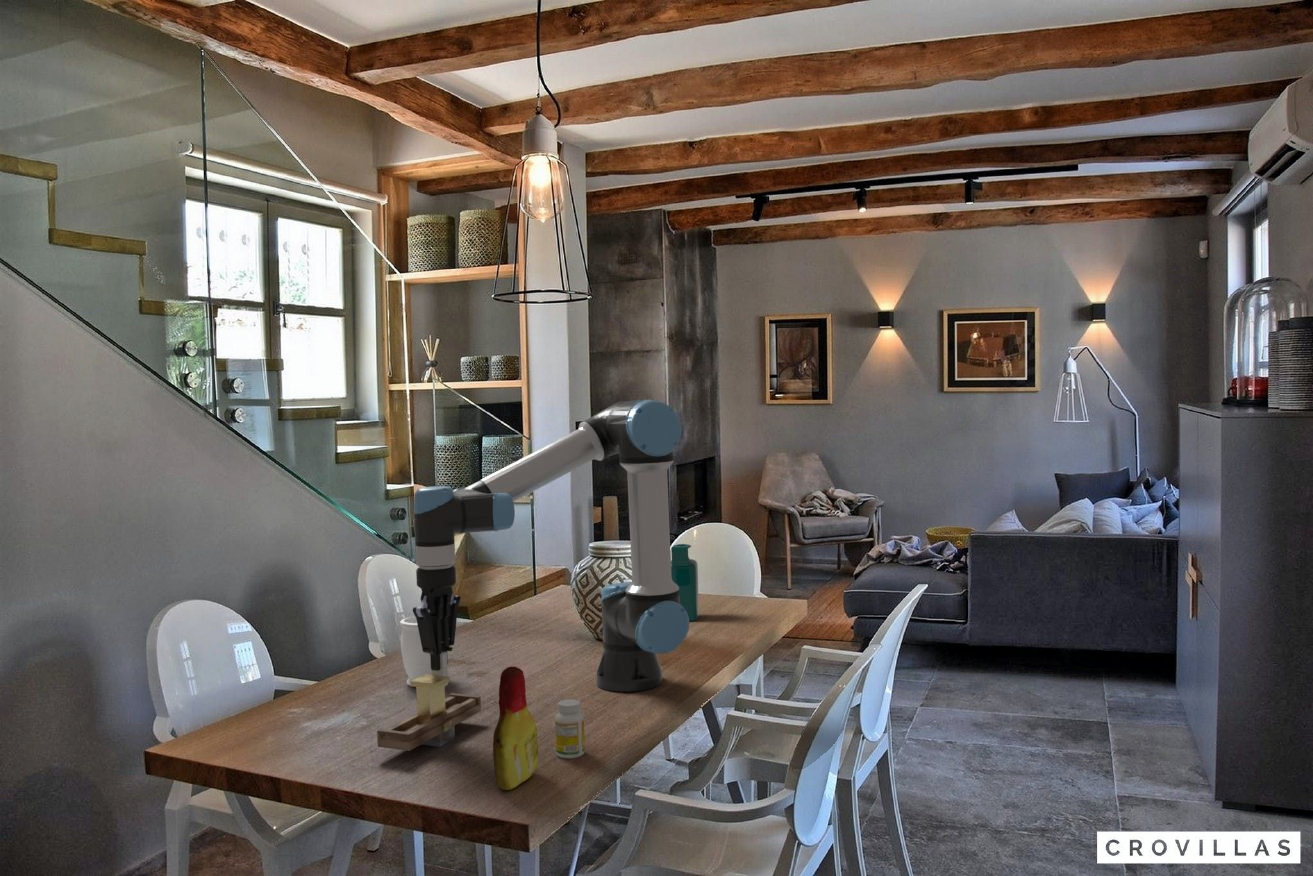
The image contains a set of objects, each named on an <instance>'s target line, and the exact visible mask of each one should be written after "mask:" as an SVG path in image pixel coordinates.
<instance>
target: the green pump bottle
mask: <svg viewBox="0 0 1313 876" xmlns="http://www.w3.org/2000/svg"><path fill="white" fill-rule="evenodd" d="M690 548H692V545H691V544H687V543H680V544H679V543H678V544H674V545H672V546H670V552H671V576H672V581H673V582H674V583H675V584H676V585H678V586H679V598H680V604H681V605H682V606H683V607H684V609H685V610H686V612H687V614H688V617H689V622H695V621H697V620H698V618H699V615H700V608H699V605H700V603H699V601H700V600H699V570H698V569H699V567H698V566H699V564H698V562H697V561H696V560H695V559H692V558H690V557H689V549H690Z"/></svg>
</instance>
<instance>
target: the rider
mask: <svg viewBox="0 0 1313 876" xmlns="http://www.w3.org/2000/svg"><path fill="white" fill-rule="evenodd" d="M450 682H451V677H450V676H449V675H448V676H439V675H429V674H425V675H423V676H421V677H419V678H416V679H414V680H412V681H410V684H411V686H410V687H413V688H414V687H415V688H416V690H415V691H416V711H417V712H416V714H417V721H418V723H422V724H423V723H425V722H427V721H429V720H431V719H433V718H435V717H436V716H438V715H440V714H442V713H444V712H446V710H445V699H446V686H445V684H446V683H448V684H449V683H450Z"/></svg>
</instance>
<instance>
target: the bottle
mask: <svg viewBox="0 0 1313 876" xmlns="http://www.w3.org/2000/svg"><path fill="white" fill-rule="evenodd" d="M499 678H500V679H499V680H500V681H499V688H498V709H499V717H498V720H497V721H498V722H497V723H496V726H495V728H494V731H493V738H492V739H493V742H492V743H493V744H492V751H493V752H492V755H493V766H494V767H493V768H494V775H495V781H496V784H497V786H498V788H500V789H501V790H505V791H506V790H507V791H511V790H512V789H515V788H516V787H518V786H519V785H520V784H522V783H523V782H525V781H527V780H529V778H530V777H531V776H532V775H533V774H534V773H535V770H536V769H538V768H539V744H538V729H537V723H536V721H535V719H534V717H533V715H532V713H531V711H529V709H528V704H527V694H526V693H527V689H526V679H525V675H524V670H523V669H521V668H520V667H517V666H508V667H506V668H505V669H504V670H502V672H501V674H500V677H499Z"/></svg>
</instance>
